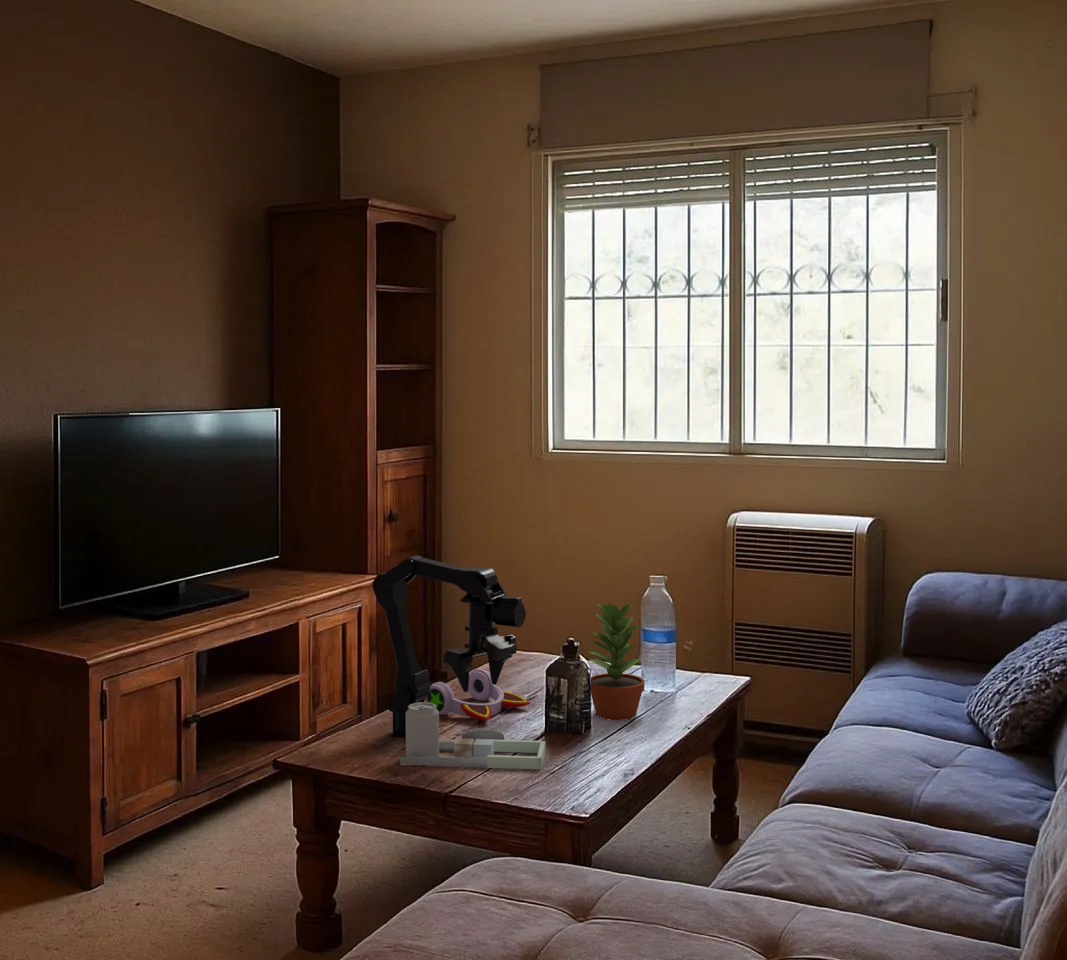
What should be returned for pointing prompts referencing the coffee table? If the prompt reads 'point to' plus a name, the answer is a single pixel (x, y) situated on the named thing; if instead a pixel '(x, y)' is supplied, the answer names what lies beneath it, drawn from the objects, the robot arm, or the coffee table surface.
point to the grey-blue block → (483, 747)
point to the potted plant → (615, 668)
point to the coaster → (483, 735)
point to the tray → (517, 761)
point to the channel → (444, 758)
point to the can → (422, 729)
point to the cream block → (464, 747)
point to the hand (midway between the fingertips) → (480, 688)
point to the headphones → (478, 690)
